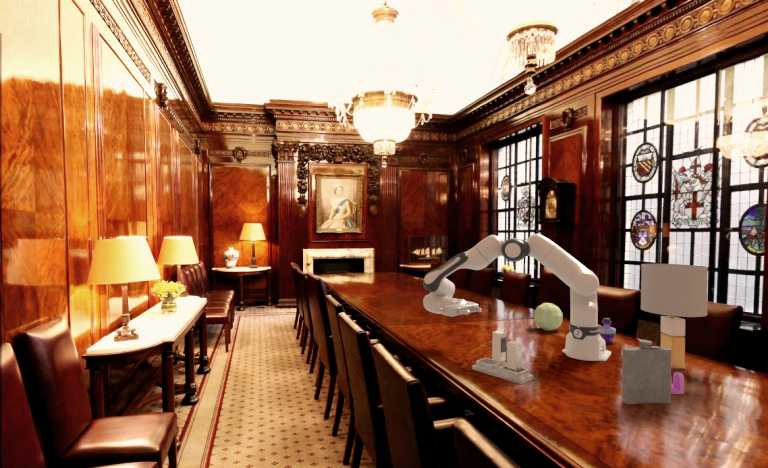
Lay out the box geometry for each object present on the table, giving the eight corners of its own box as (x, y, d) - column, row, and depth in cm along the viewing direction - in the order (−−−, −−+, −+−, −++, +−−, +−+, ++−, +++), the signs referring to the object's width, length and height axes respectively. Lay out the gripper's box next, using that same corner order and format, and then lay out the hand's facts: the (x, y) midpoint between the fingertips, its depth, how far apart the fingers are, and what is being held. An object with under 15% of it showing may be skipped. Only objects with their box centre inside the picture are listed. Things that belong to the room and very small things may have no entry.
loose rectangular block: (497, 357, 186) (497, 330, 186) (506, 360, 182) (506, 332, 182) (492, 359, 183) (492, 332, 183) (501, 362, 180) (501, 334, 179)
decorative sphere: (529, 327, 245) (529, 301, 245) (553, 326, 247) (554, 301, 246) (541, 333, 230) (542, 306, 230) (567, 332, 232) (568, 305, 232)
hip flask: (626, 404, 136) (626, 342, 136) (618, 399, 140) (618, 339, 140) (673, 403, 137) (673, 342, 137) (664, 398, 141) (664, 339, 141)
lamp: (721, 375, 164) (722, 268, 164) (662, 374, 165) (663, 268, 164) (680, 357, 187) (681, 263, 187) (629, 357, 187) (629, 263, 187)
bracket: (684, 394, 145) (684, 374, 145) (667, 393, 146) (667, 373, 146) (661, 380, 158) (661, 362, 158) (646, 380, 159) (646, 362, 159)
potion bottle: (619, 344, 209) (620, 320, 209) (602, 344, 209) (602, 320, 209) (610, 339, 217) (611, 316, 217) (593, 339, 217) (594, 316, 217)
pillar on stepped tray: (484, 365, 176) (484, 332, 176) (533, 379, 159) (533, 343, 159) (471, 369, 170) (472, 336, 170) (521, 384, 154) (521, 347, 154)
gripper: (436, 302, 196) (460, 307, 185) (464, 298, 209) (487, 302, 199) (436, 316, 196) (460, 321, 185) (463, 311, 209) (487, 315, 199)
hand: (474, 311), depth 192 cm, fingers open, 8 cm apart
